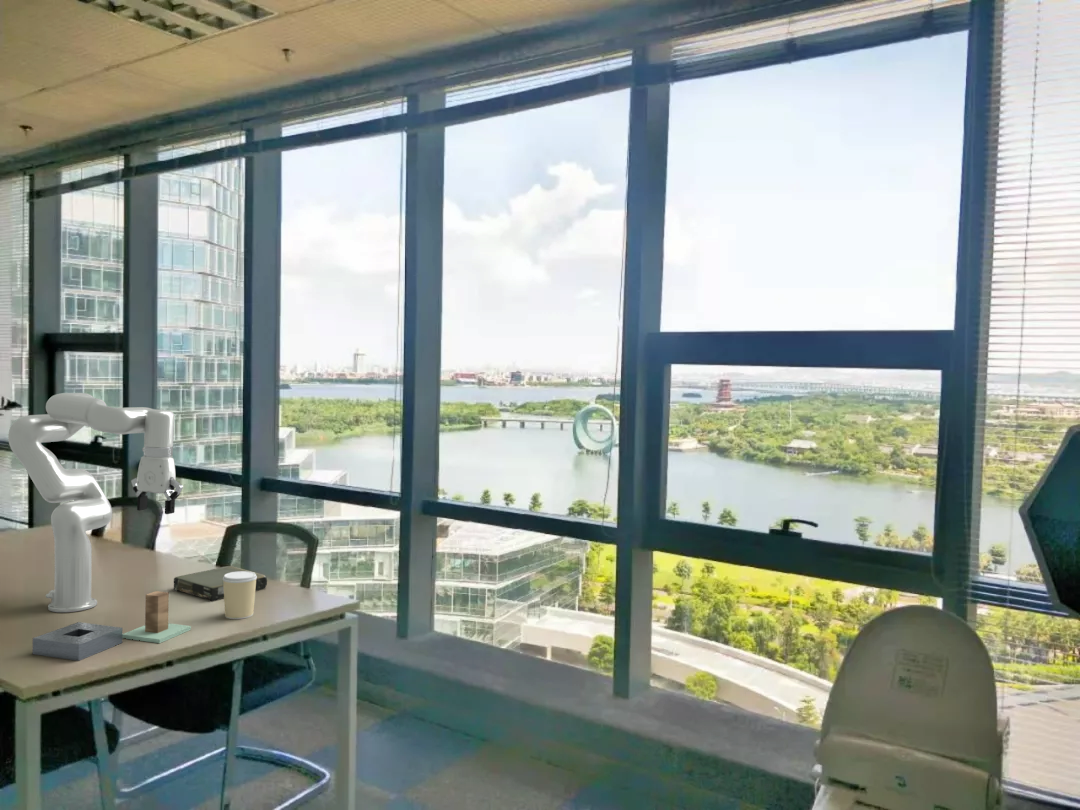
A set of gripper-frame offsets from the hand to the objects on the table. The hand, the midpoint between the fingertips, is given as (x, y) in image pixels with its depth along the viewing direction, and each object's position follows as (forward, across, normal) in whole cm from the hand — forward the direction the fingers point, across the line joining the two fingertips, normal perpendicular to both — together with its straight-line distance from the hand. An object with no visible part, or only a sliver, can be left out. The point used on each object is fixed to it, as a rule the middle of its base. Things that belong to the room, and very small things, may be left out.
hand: (155, 511), depth 231 cm
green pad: (+30, +13, -12) cm, 35 cm away
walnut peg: (+29, +13, -12) cm, 34 cm away
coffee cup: (+30, +22, +10) cm, 39 cm away
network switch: (+31, -1, +31) cm, 44 cm away
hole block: (+31, +4, -28) cm, 42 cm away
